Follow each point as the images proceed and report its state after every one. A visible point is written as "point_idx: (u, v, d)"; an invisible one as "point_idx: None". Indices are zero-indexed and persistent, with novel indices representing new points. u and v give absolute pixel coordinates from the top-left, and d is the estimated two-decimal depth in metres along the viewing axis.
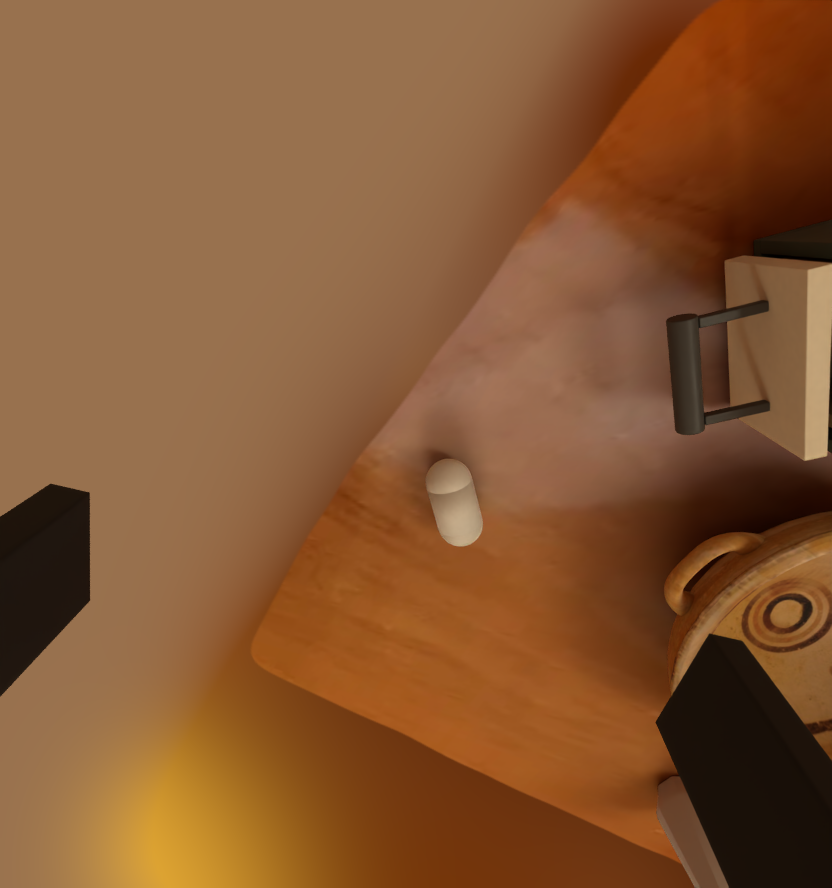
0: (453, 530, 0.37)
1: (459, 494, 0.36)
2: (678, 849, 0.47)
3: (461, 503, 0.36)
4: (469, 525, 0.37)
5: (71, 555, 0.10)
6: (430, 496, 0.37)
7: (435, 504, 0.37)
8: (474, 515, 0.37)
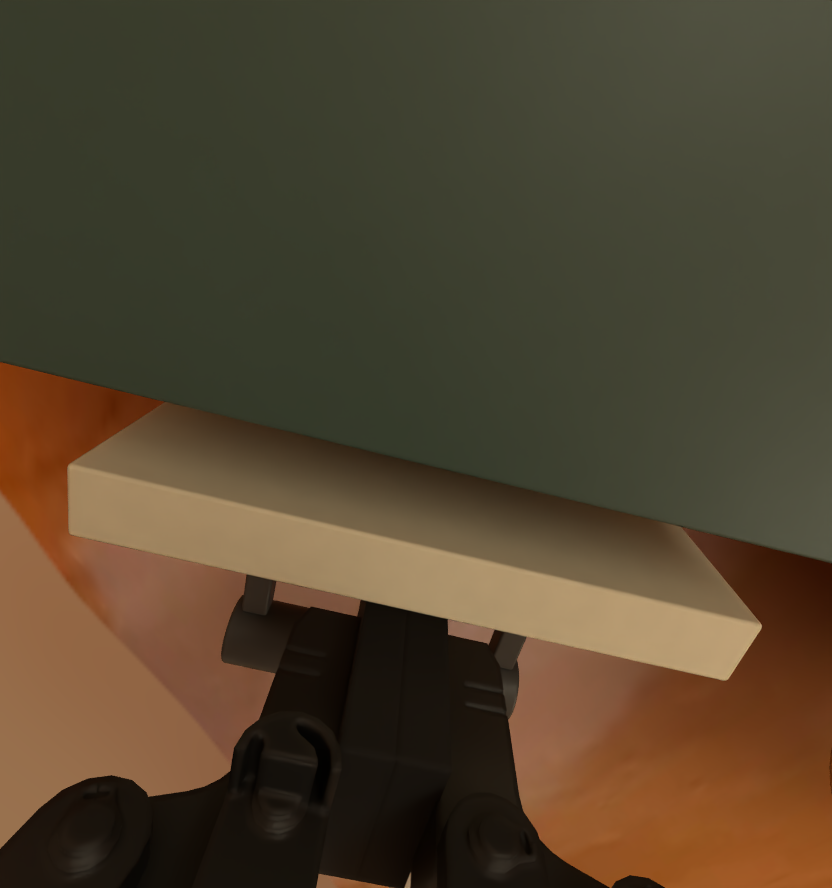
0: None
1: None
2: None
3: None
4: None
5: None
6: None
7: None
8: None
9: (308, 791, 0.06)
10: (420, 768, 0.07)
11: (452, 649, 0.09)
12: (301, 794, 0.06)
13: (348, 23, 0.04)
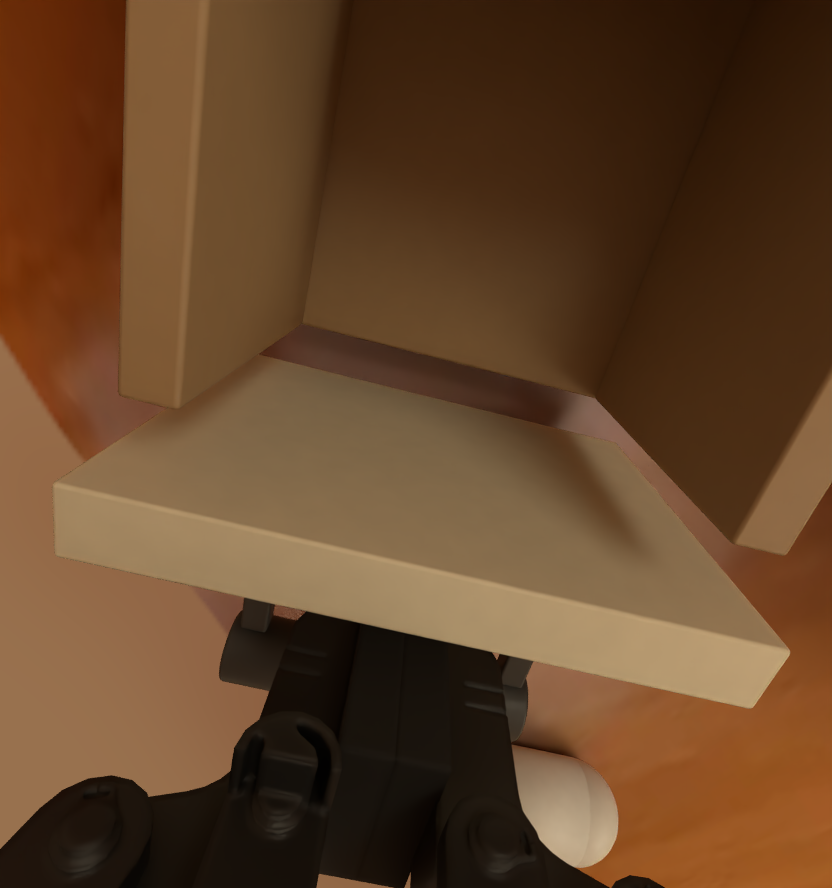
0: None
1: None
2: None
3: None
4: (572, 837, 0.18)
5: None
6: None
7: None
8: (560, 813, 0.18)
9: (308, 791, 0.06)
10: (420, 768, 0.07)
11: (452, 649, 0.09)
12: (301, 794, 0.06)
13: None
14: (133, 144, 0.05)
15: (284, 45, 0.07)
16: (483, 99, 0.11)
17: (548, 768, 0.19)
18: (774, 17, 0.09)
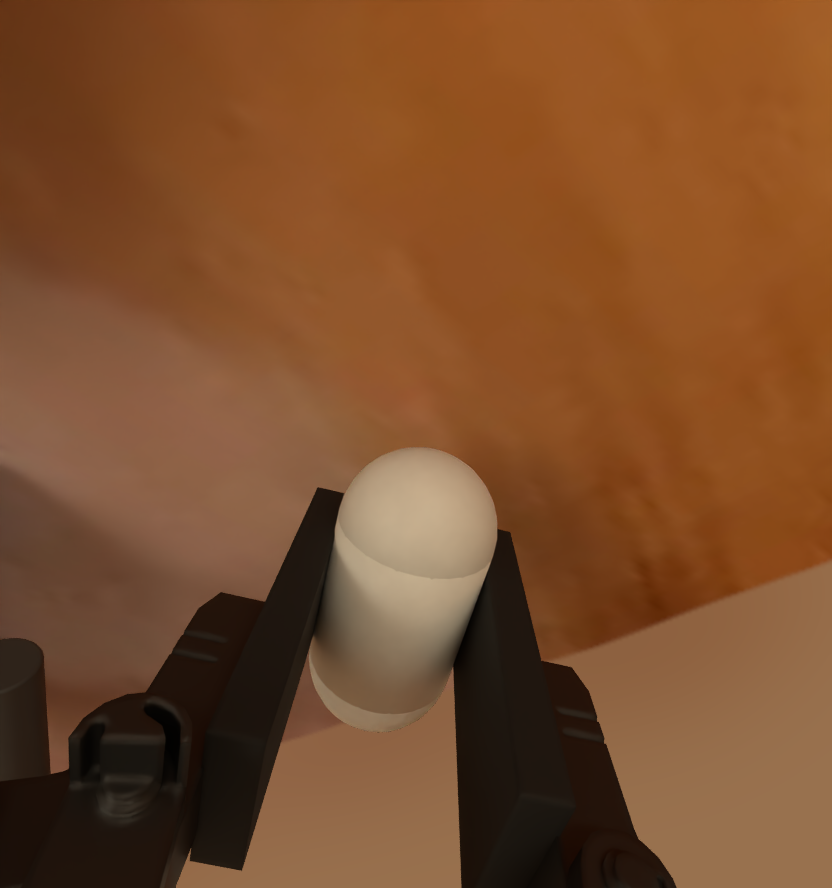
0: (431, 596, 0.10)
1: (347, 689, 0.11)
2: None
3: (356, 662, 0.10)
4: (369, 583, 0.10)
5: None
6: (446, 678, 0.12)
7: (442, 669, 0.11)
8: (341, 586, 0.10)
9: (160, 771, 0.06)
10: (545, 804, 0.07)
11: None
12: (152, 775, 0.06)
13: None
14: None
15: None
16: None
17: None
18: None
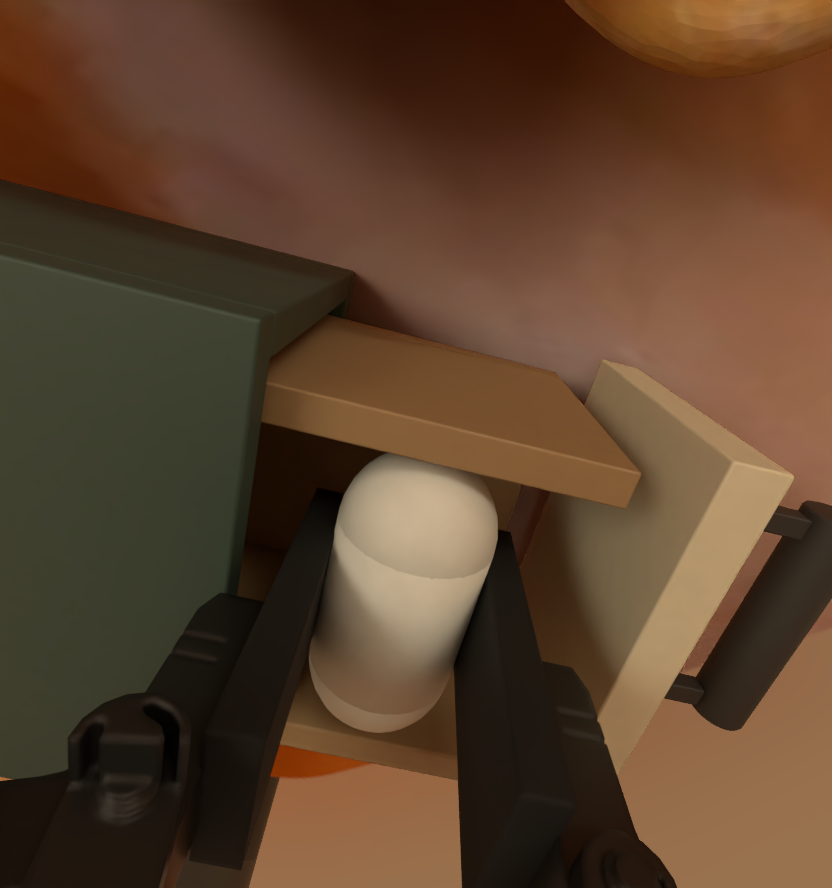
0: (431, 597, 0.10)
1: (346, 689, 0.11)
2: None
3: (355, 662, 0.10)
4: (369, 583, 0.10)
5: None
6: (446, 678, 0.12)
7: (443, 670, 0.11)
8: (341, 585, 0.10)
9: (159, 771, 0.06)
10: (544, 804, 0.07)
11: None
12: (151, 775, 0.06)
13: (20, 665, 0.10)
14: (385, 763, 0.13)
15: None
16: None
17: None
18: None
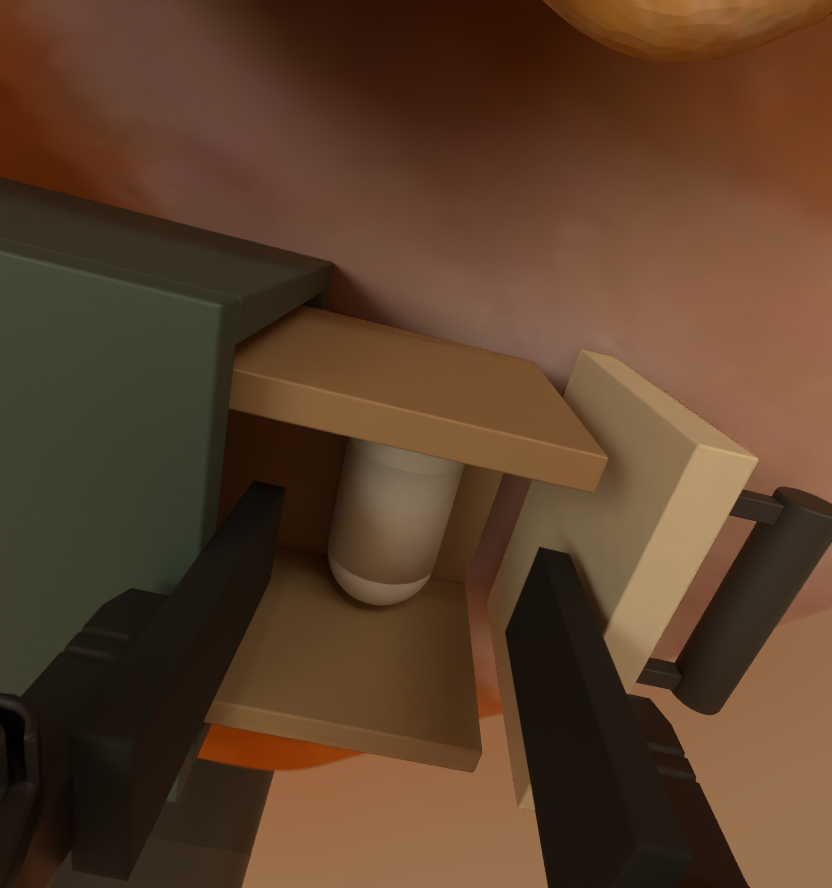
0: (431, 488, 0.14)
1: (370, 571, 0.14)
2: None
3: (377, 548, 0.14)
4: (386, 485, 0.13)
5: (272, 540, 0.12)
6: (437, 556, 0.16)
7: (436, 547, 0.15)
8: (362, 493, 0.14)
9: (5, 772, 0.05)
10: (660, 856, 0.06)
11: None
12: None
13: None
14: (363, 749, 0.13)
15: (319, 641, 0.15)
16: (331, 481, 0.17)
17: (340, 479, 0.15)
18: None
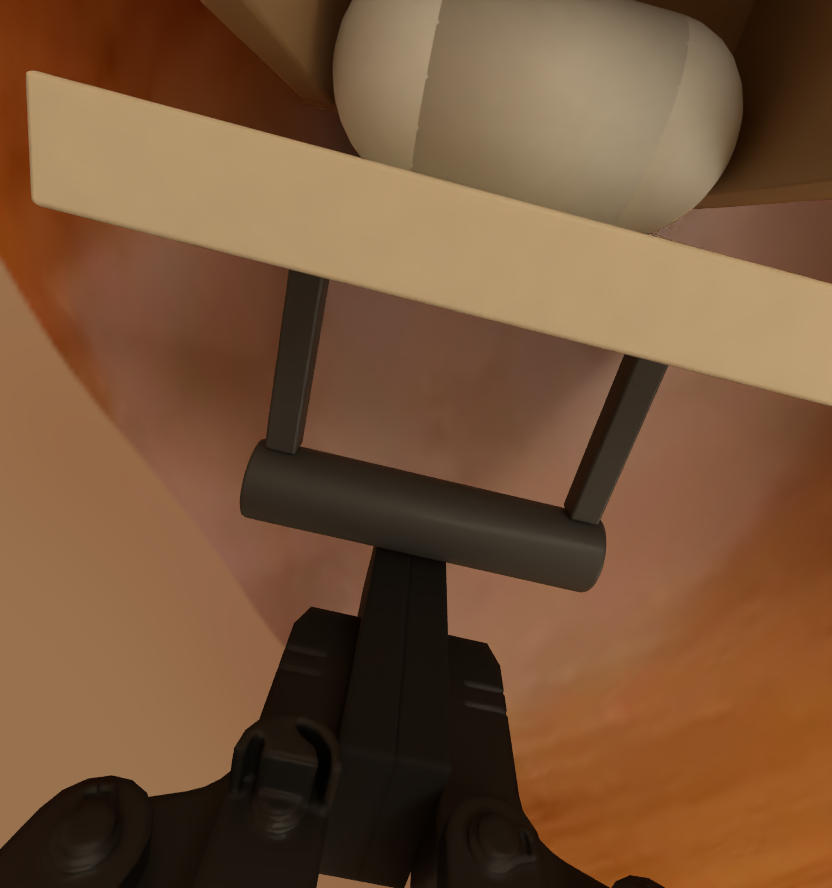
0: None
1: None
2: None
3: None
4: None
5: None
6: None
7: None
8: None
9: (308, 791, 0.06)
10: (420, 768, 0.07)
11: (452, 649, 0.09)
12: (301, 794, 0.06)
13: None
14: None
15: None
16: None
17: (566, 129, 0.08)
18: None
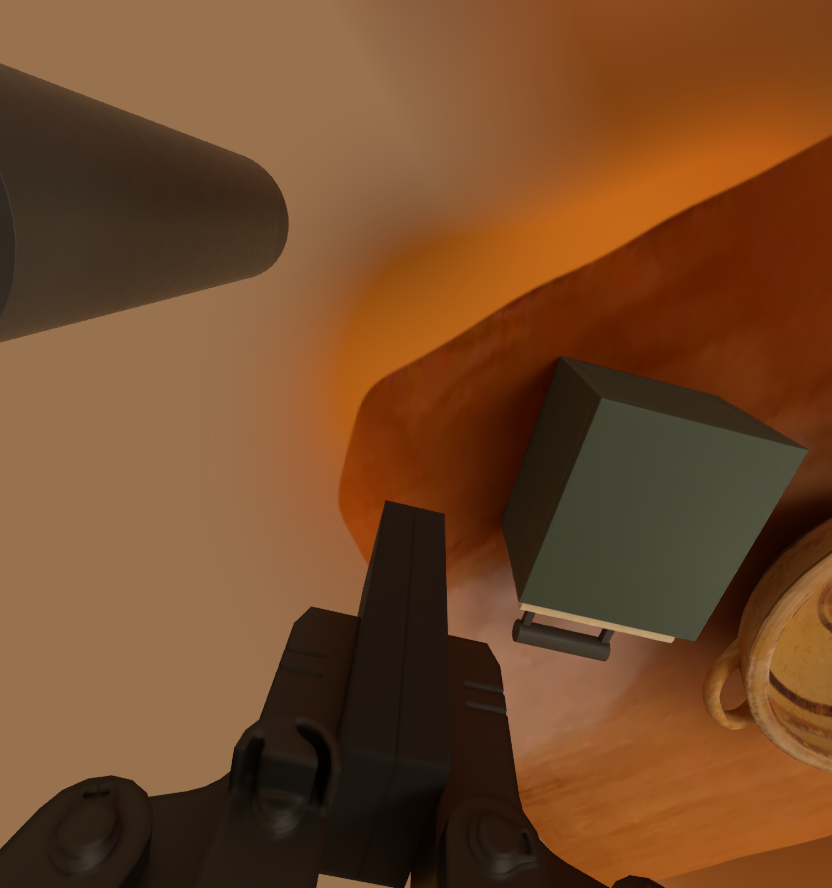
0: None
1: None
2: None
3: None
4: None
5: None
6: None
7: None
8: None
9: (308, 791, 0.06)
10: (420, 768, 0.07)
11: (452, 649, 0.09)
12: (301, 794, 0.06)
13: (597, 565, 0.31)
14: None
15: None
16: None
17: None
18: None
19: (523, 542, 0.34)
